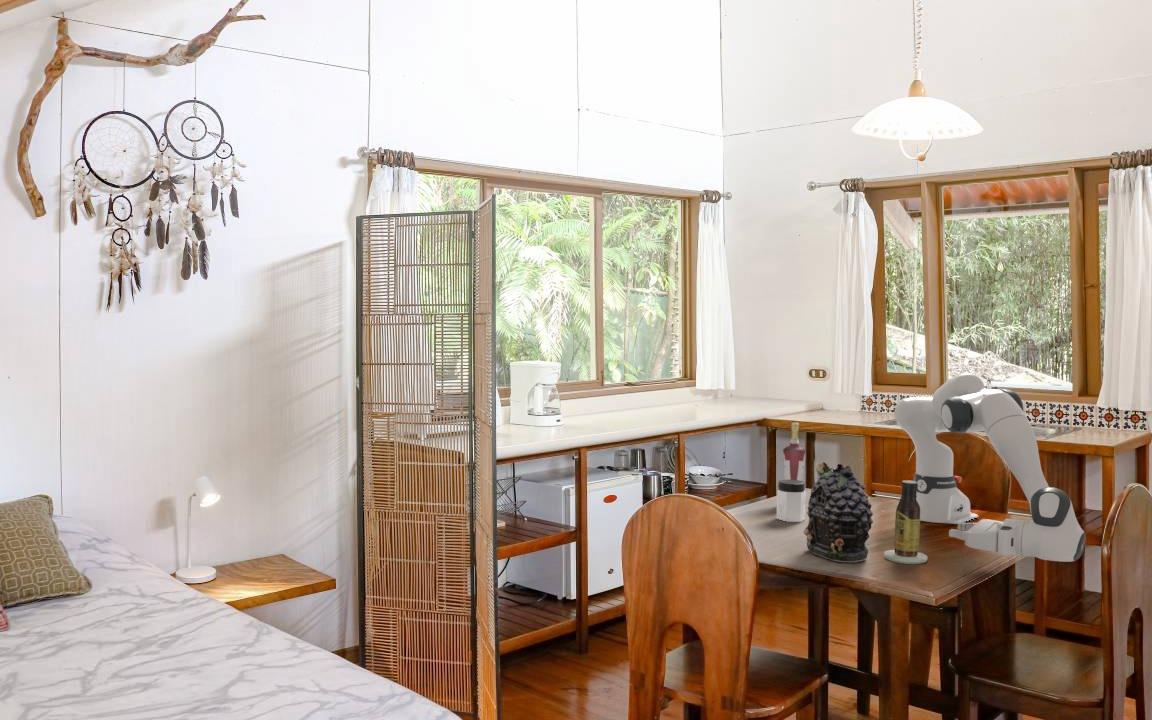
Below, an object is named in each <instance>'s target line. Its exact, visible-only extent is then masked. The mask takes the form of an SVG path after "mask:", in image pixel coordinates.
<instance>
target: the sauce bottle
mask: <svg viewBox="0 0 1152 720" xmlns="http://www.w3.org/2000/svg"><path fill="white" fill-rule="evenodd" d="M900 486H901V496H900V499H899V502H898V504H897V506H896V508H895V522H894V525H895V526H894V539H893V540H894V542H893V545H894V546H893V547H894V550H895V553H896V554H898V555H900V556H907V557H914V556H917V555H918V552H919V548H920V532H921V531H920V529H921V521H920V506H919V504H918V502H917V500H916V498H917V496H916V494H917V487H918V482H916V481H914V480H910V479H909V480H905V479H903V480H902V481H901V485H900Z"/></svg>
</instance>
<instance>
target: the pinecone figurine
mask: <svg viewBox="0 0 1152 720" xmlns="http://www.w3.org/2000/svg"><path fill="white" fill-rule="evenodd" d="M815 471H816V482H814V484H813V487H812V488H811V489H810V496H809V499H808V506H807V511H806V514H807V515H808V524H807V526H806V527H805V528H804V530H803V531H802V533H803V534H804V535H805V536H806V547H807V550H808V551H809V552H811V553H812V554H815V555H818V556H819V557H821V558H823V559H828V560H830V561H834V562H839V563H857V562H862V561H866V560H867V557H868V553H869V549H868V547H867V546H866V542H867V540H869V538H870V535H869V531H870V530H871V529H872V524H873V523H874V520H873V519H872V517H873V515H874V513H873V511H872V510H871V509H872V503H871V502H870V501H869V495H868V494H867V493H866V492H865V489H866V485H865V484H862V483H861V482H860V480H859V479H858V478H857V477H856V476H855V474H854V472H852V468H851V467H850V466H849V465H847V466H845V467H844V465H843V464H842V463H840V464H839V463H838V464H837V467H836V468H835V469H834V468H833V467H832V468H830V466H829V465H828V464H827V463H826V462H824V461H821V462H819V463H818V464H816V466H815Z"/></svg>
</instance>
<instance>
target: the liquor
mask: <svg viewBox="0 0 1152 720" xmlns="http://www.w3.org/2000/svg"><path fill="white" fill-rule="evenodd" d="M799 429H800V423H799V422H791V423H790V430H791V431H790V432H791V433H790V440H789V441H790V443H789V445H788V446H785V447H784V448H783V450H782V453H783V454H782V455H783V458H782V459H783V461H782V463H783V464H782V465H783V466H782V467H783V480H799V481H803V482H804V475H805V474H804V473H805V463H806V462H805V461H806V449H804V447H802V446H800V441H799V438H800V437H799Z"/></svg>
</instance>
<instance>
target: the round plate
mask: <svg viewBox="0 0 1152 720" xmlns="http://www.w3.org/2000/svg"><path fill="white" fill-rule="evenodd" d="M883 558H884V559H885V560H887V561H889V562H893V563H897V564H903V563H904V564H903V565H922V563H923V564H926V563H928V555H926V554H925V553H923V552H919V551H918V555H917V556H914V557H907V556H900V555H898V554H896V553H895V549H889V550H885V551H884V553H883ZM925 562H926V563H925Z"/></svg>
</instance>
